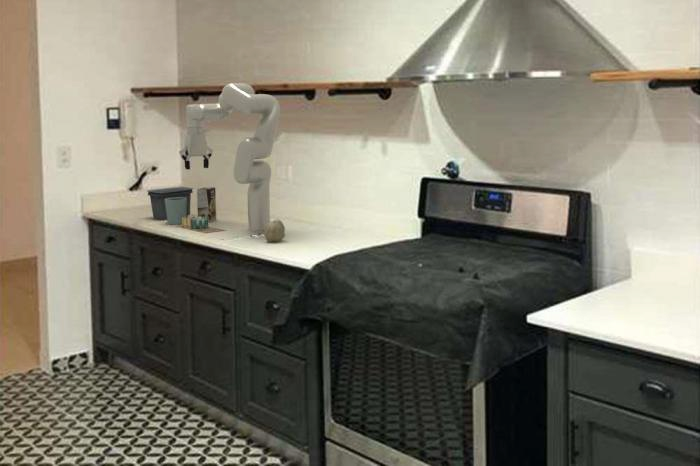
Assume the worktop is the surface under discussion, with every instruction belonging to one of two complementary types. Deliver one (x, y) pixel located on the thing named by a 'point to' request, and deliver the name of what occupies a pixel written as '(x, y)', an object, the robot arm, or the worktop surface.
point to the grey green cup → (175, 210)
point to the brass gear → (187, 221)
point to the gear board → (201, 225)
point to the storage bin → (162, 194)
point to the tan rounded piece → (274, 231)
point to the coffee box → (206, 203)
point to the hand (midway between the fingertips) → (196, 168)
